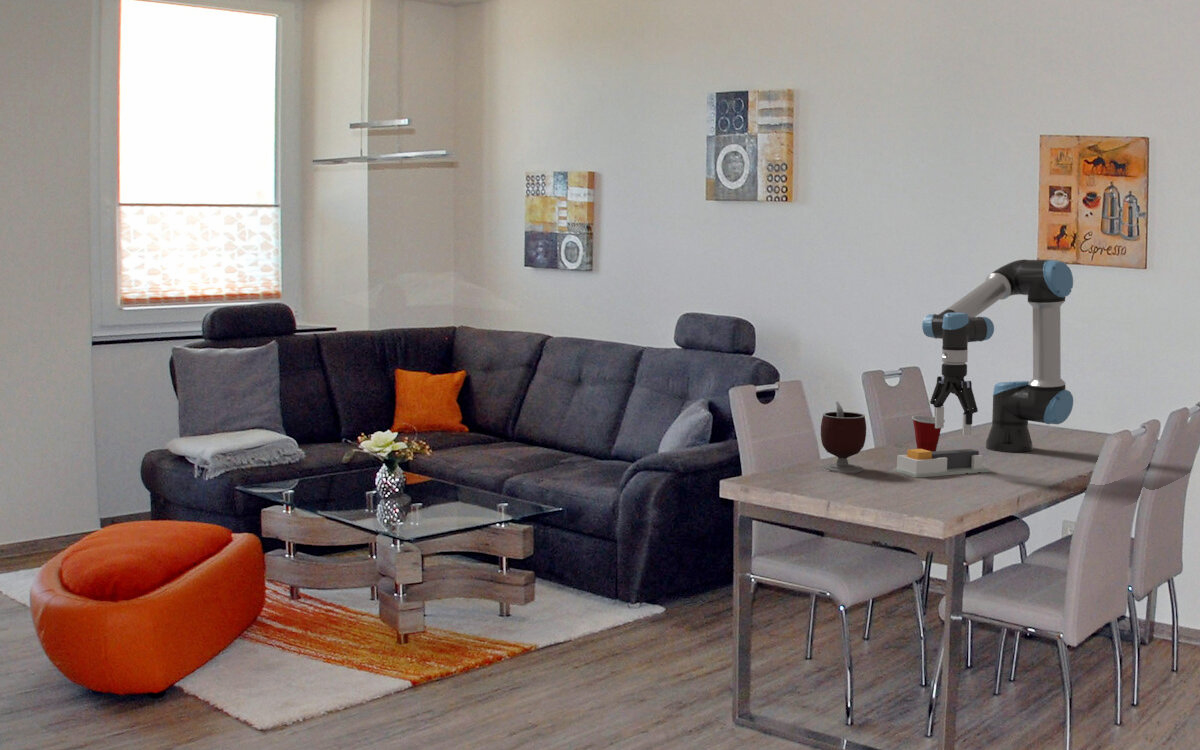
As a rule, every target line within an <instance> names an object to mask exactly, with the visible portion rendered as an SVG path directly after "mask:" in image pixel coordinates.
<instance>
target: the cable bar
mask: <svg viewBox="0 0 1200 750" xmlns="http://www.w3.org/2000/svg"><path fill="white" fill-rule="evenodd" d="M906 455H907V457H909V458H913V459H916V460H923V459H937V458H943V457H945V458H947V469H957V468H970V467H971V463H972V455H980V452H979V450H977V449H972V448H968V449H967V448H966V449H965V448H964V449H951V450H949V449H948V450H936V451H934V452H931V451H928V450H924V449H917V448H911V449H907V454H906Z"/></svg>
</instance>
